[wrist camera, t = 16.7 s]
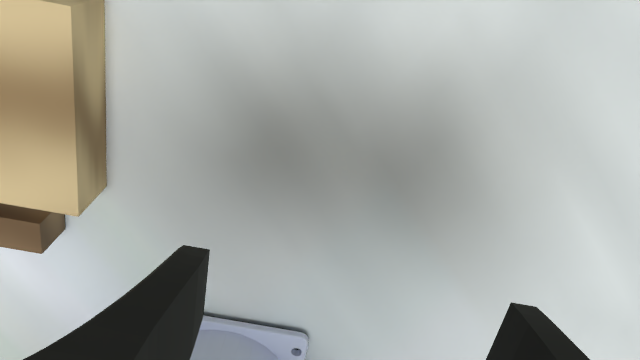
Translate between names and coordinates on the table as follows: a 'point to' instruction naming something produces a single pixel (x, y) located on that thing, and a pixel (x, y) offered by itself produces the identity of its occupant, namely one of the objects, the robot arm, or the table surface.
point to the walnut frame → (29, 228)
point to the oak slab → (52, 104)
